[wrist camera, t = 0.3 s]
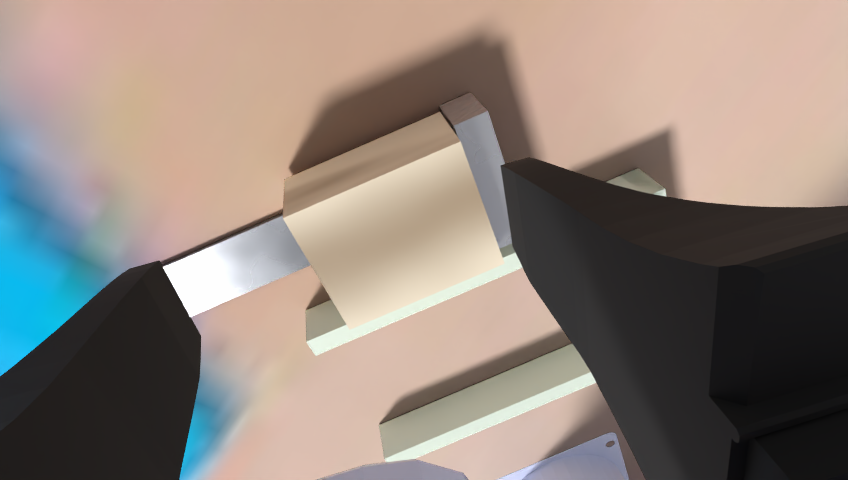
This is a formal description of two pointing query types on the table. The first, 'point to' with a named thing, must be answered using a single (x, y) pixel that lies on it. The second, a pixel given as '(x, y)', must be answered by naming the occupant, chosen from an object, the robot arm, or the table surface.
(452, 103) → the slab rail
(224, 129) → the table surface
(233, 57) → the table surface
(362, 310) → the maple slab
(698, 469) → the robot arm
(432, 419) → the sage cradle
